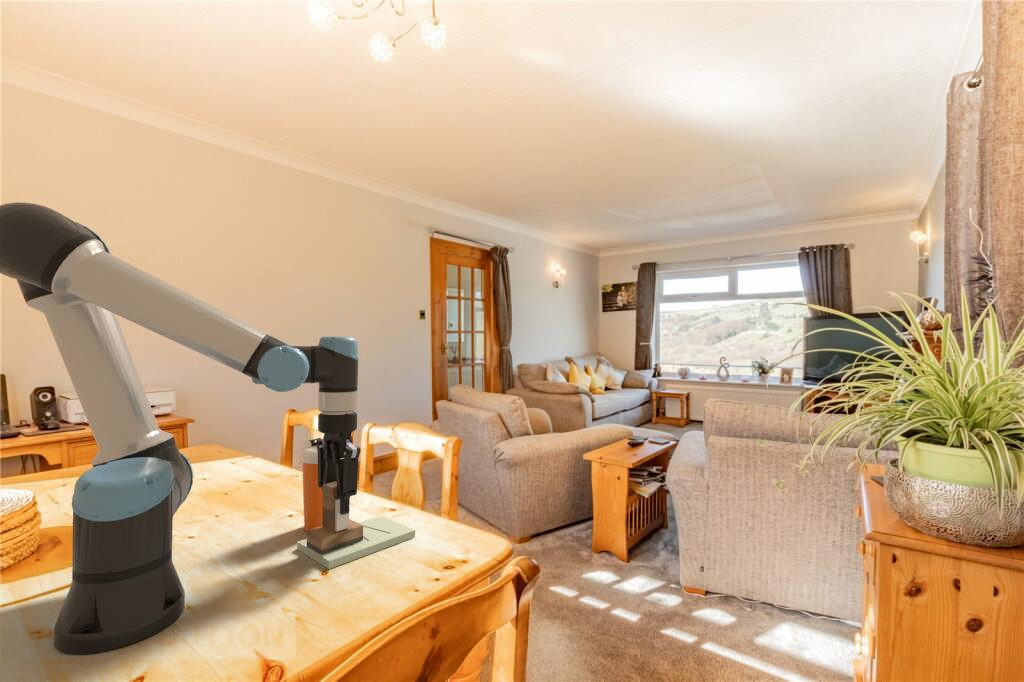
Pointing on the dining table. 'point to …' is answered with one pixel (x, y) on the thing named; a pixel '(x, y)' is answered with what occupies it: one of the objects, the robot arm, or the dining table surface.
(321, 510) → the shaker bottle
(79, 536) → the robot arm
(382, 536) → the board
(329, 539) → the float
